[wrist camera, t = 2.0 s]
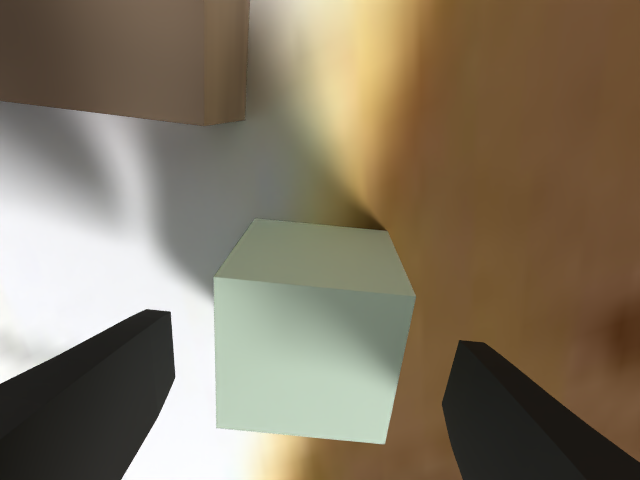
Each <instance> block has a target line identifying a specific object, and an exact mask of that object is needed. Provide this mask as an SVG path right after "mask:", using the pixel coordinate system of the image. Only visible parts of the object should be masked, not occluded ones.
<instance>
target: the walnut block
mask: <svg viewBox="0 0 640 480" xmlns="http://www.w3.org/2000/svg"><path fill="white" fill-rule="evenodd" d="M249 6H250V0H0V101H6V102H14V103H22V104H30V105H38V106H46V107H54V108H62V109H70V110H79V111H87V112H95V113H103V114H111V115H119V116H127V117H135V118H143V119H151V120H159V121H167V122H175V123H184V124H192V125H200V126H208V125H215V124H222V123H229V122H235V121H242V120H245V108H246V82H247V57H248V31H249Z"/></svg>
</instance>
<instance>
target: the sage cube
mask: <svg viewBox="0 0 640 480" xmlns="http://www.w3.org/2000/svg"><path fill="white" fill-rule="evenodd" d="M213 278H214V328H215V378H216V428H221V429H232V430H242V431H252V432H263V433H273V434H283V435H294V436H304V437H315V438H325V439H335V440H346V441H356V442H366V443H377V444H385V440H386V436H387V431H388V426H389V422H390V417H391V412H392V407H393V403H394V398H395V393H396V388H397V384H398V379H399V374H400V370H401V365H402V360H403V355H404V351H405V346H406V341H407V336H408V332H409V327H410V322H411V317H412V313H413V308H414V303H415V299H416V295H415V293H414V291H413V289H412V286H411V284H410V282H409V279H408V277H407V275H406V273H405V270H404V268H403V266H402V263H401V261H400V259H399V257H398V254H397V252H396V250H395V247H394V245H393V243H392V241H391V238H390V236H389V234H388V231H383V230H372V229H362V228H352V227H341V226H331V225H320V224H310V223H299V222H289V221H278V220H268V219H257V218H255V219H254V220H253V222H252V223H251V225H250V226H249V227H248V229H247V230H246V232H245V233H244V234H243V236H242V237H241V239H240V240H239V242H238V243H237V244H236V246H235V247H234V249H233V250H232V251H231V253H230V254H229V256H228V257H227V259H226V260H225V261H224V263H223V264H222V266H221V267H220V268H219V270H218V271H217V273H216V274H215V276H214V277H213Z"/></svg>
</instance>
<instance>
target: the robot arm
mask: <svg viewBox="0 0 640 480" xmlns="http://www.w3.org/2000/svg"><path fill="white" fill-rule="evenodd" d="M174 379H175V366H174V353H173V339H172V325H171V312H169V311H159V310H149V309H146V310H144V311H141V312H139V313H137V314H135V315H133V316H131V317H129V318H127V319H125V320H123V321H121V322H120V323H118V324H116V325H114V326H112V327H110V328H108V329H106V330H105V331H103V332H101V333H99V334H97V335H95V336H93V337H92V338H90V339H88V340H86V341H84V342H82V343H80V344H78V345H77V346H75V347H73V348H71V349H69V350H67V351H65V352H63V353H62V354H60V355H58V356H56V357H54V358H52V359H50V360H48V361H46V362H44V363H42V364H40V365H38V366H36V367H33V368H31V369H29V370H27V371H25V372H23V373H21V374H19V375H17V376H15V377H13V378H11V379H9V380H7V381H5V382H3V383H1V384H0V480H121V479H122V477H123V475H124V474H125V472H126V470H127V469H128V467H129V465H130V464H131V462H132V460H133V459H134V457H135V455H136V454H137V452H138V450H139V449H140V447H141V445H142V443H143V442H144V440H145V438H146V437H147V435H148V433H149V431H150V430H151V428H152V426H153V424H154V423H155V421H156V419H157V417H158V416H159V413H160V411H161V409H162V407H163V405H164V402H165V400H166V398H167V396H168V393H169V391H170V389H171V386H172V384H173V381H174ZM442 407H443V412H444V417H445V421H446V426H447V430H448V434H449V438H450V442H451V446H452V449H453V452H454V455H455V458H456V461H457V464H458V467H459V469H460V472H461V475H462V478H463V480H640V462H638V461H637V460H635V459H634V458H633V457H631V456H630V455H628V454H627V453H626V452H624V451H623V450H622V449H620V448H619V447H618V446H616V445H615V444H613V443H612V442H611V441H609V440H608V439H607V438H605V437H604V436H603V435H601V434H600V433H599V432H597V431H596V430H594V429H593V428H592V427H590V426H589V425H588V424H587V423H585V422H584V421H583V420H581V419H580V418H579V417H577V416H576V415H575V414H574V413H572V412H571V411H570V410H568V409H567V408H566V407H565V406H563V405H562V404H561V403H560V402H558V401H557V400H556V399H555V398H553V397H552V396H551V395H550V394H548V393H547V392H546V391H545V390H543V389H542V388H541V387H540V386H538V385H537V384H536V383H535V382H534V381H532V380H531V379H530V378H529V377H527V376H526V375H525V374H524V373H522V372H521V371H520V370H519V369H518V368H516V367H515V366H514V365H513V364H511V363H510V362H509V361H508V360H506V359H505V358H504V357H503V356H501V355H500V354H499V353H498V352H496V351H495V350H494V349H492V348H491V347H490V346H488V345H487V344H485V343H483V342H473V341H462V340H459V343H458V347H457V350H456V354H455V358H454V361H453V365H452V369H451V372H450V376H449V380H448V383H447V387H446V390H445V394H444V398H443V401H442Z"/></svg>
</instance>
